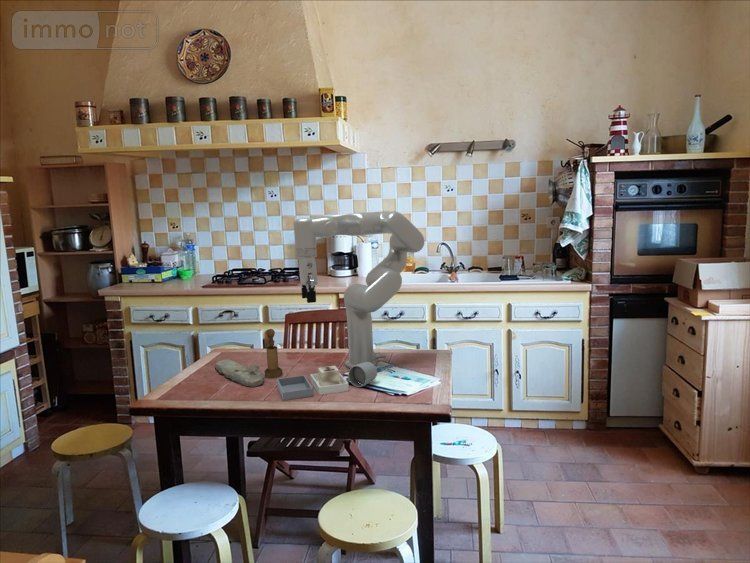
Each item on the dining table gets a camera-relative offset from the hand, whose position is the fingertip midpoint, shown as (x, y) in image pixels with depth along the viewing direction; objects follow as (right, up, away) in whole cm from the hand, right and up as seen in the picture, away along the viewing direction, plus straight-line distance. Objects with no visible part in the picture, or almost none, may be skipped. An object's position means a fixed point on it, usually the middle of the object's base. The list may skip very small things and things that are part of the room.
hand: (309, 300), depth 202 cm
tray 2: (+8, -30, -9) cm, 32 cm away
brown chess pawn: (-14, -29, +5) cm, 32 cm away
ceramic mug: (+19, -29, -7) cm, 35 cm away
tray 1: (-3, -31, -13) cm, 33 cm away
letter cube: (+8, -29, -9) cm, 32 cm away
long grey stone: (-27, -29, +7) cm, 41 cm away
